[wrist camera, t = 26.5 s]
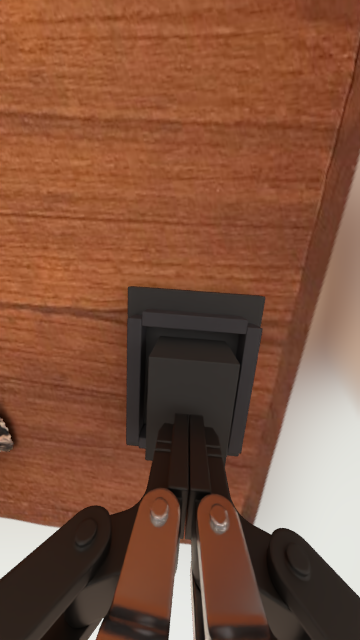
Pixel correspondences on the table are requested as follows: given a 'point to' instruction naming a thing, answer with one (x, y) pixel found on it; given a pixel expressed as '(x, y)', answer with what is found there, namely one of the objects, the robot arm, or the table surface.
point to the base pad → (190, 322)
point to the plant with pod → (5, 438)
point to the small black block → (191, 386)
